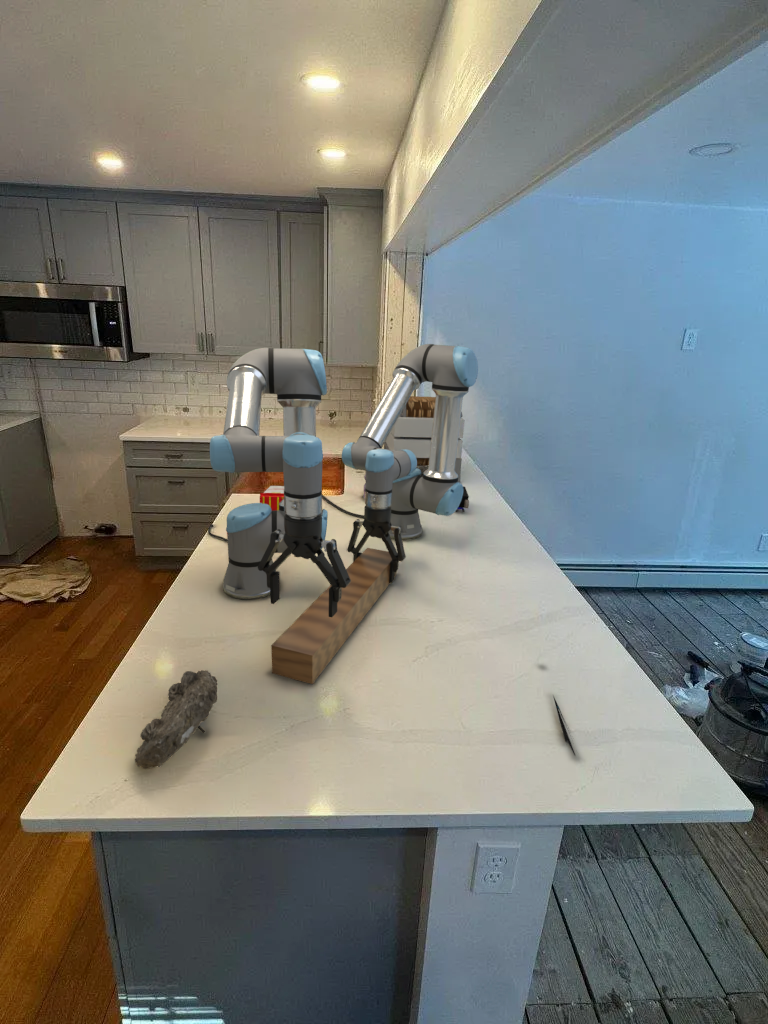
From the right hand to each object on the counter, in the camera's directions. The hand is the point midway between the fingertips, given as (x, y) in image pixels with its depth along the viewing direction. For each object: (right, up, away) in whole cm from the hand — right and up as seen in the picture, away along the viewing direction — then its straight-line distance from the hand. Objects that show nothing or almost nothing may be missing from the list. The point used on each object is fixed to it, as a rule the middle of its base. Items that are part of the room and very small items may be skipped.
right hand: (375, 577), depth 165 cm
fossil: (-34, -21, -61) cm, 73 cm away
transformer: (+20, +38, +110) cm, 118 cm away
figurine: (-2, +25, +71) cm, 75 cm away
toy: (-36, +17, +44) cm, 59 cm away
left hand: (-14, -1, -45) cm, 47 cm away
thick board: (-8, -7, -20) cm, 23 cm away
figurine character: (+33, +21, +63) cm, 74 cm away
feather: (+38, -21, -50) cm, 66 cm away
